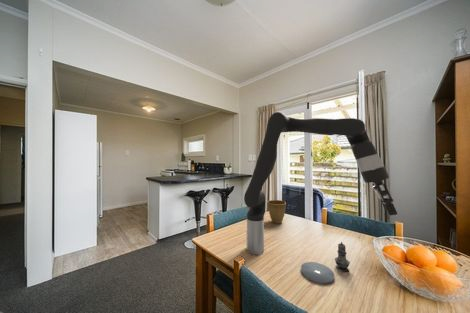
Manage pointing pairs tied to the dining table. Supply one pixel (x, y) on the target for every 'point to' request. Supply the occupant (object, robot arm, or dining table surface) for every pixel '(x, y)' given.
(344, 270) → the dark ornate figurine
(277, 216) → the plant pot
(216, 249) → the dining table surface
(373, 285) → the dining table surface
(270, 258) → the dining table surface
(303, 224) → the dining table surface
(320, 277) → the dish
